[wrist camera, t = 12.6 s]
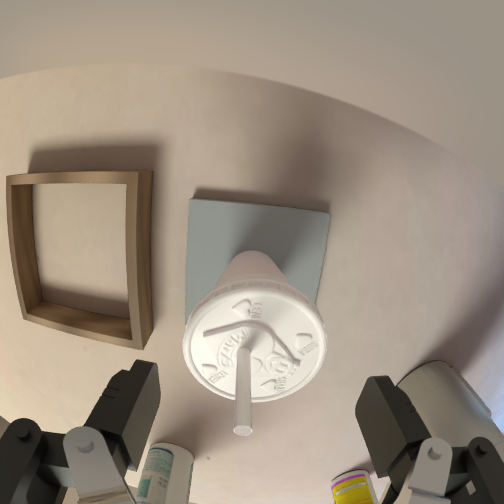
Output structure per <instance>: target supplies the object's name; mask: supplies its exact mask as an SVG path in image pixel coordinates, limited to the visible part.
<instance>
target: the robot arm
mask: <svg viewBox="0 0 504 504" xmlns="http://www.w3.org/2000/svg"><path fill="white" fill-rule="evenodd" d="M160 397H161V392H160V384H159V375H158V367H157V364H156V363H154V362H148V361H143V360H138V359H137V360H136V361H135V362H134V364H133V366H132V367H131V369H130V371H127V370H123V369H122V370H121V371H119V372H118V373H117V374H115V375H114V376H112V378H111V380H110V381H109V383H108V385H107V388H105V390H104V391H103V393H102V396H100V398H99V400H98V402H97V403H96V405H95V407H94V408H93V410H92V412H91V414H90V415H89V417H88V419H87V421H86V423H85V424H84V425H83V426H81V427H76V428H73V429H71V430H70V431H69V432H67V434H60V433H52V432H45V431H41V429H40V427H39V426H38V424H37V423H36V422H34V421H33V420H31V419H27V418H20V419H17V420H15V421H13V422H12V423H11V424H10V425H9V426H8V428H7V429H6V431H5V433H4V434H3V436H2V437H1V439H0V504H62V503H63V500H64V497H65V494H66V492H67V489H68V487H72V488H76V490H77V493H78V496H79V501H78V502H77V503H78V504H137V502H136V500H135V498H134V497H133V495H132V493H131V491H130V489H129V487H128V485H127V483H126V481H125V479H124V477H125V474H126V471H127V469H129V470H132V471H136V472H137V469H138V466H139V463H140V460H141V457H142V454H143V451H144V448H145V445H146V442H147V439H148V436H149V433H150V430H151V427H152V425H153V422H154V419H155V416H156V413H157V410H158V407H159V404H160ZM355 414H356V418H357V421H358V424H359V426H360V429H361V432H362V434H363V437H364V440H365V443H366V445H367V448H368V451H369V454H370V457H371V459H372V462H373V465H374V468H375V471H376V474H377V477H378V478H382V477H386V476H389V477H390V481H389V482H388V484H387V486H386V488H385V490H384V492H383V494H382V497H381V499H380V501H379V503H378V504H504V435H503V434H502V433H501V431H500V430H499V428H498V427H497V426H496V424H495V423H494V422H493V420H492V419H491V418H490V417H491V411H490V410H489V408H488V407H487V406H486V404H485V403H484V402H483V401H482V399H481V398H480V397H479V396H478V394H477V393H476V392H475V391H474V390H473V388H472V387H471V386H470V385H469V384H468V382H467V381H466V380H465V379H464V378H463V376H462V375H461V374H460V373H459V372H458V371H457V370H456V368H455V367H452V368H451V367H449V366H448V364H447V363H445V362H443V361H433V362H430V363H427V364H425V365H423V366H421V367H419V368H417V369H416V370H414V371H413V372H411V373H410V374H409V375H408V376H406V377H405V378H404V379H403V380H402V381H401V382H400V383H399V384H398V386H397V387H395V386H394V384H393V382H392V381H391V379H390V377H389V376H387V375H385V376H372V377H369V378H368V379H367V381H366V383H365V386H364V388H363V390H362V392H361V395H360V397H359V399H358V401H357V404H356V408H355Z"/></svg>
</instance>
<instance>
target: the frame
mask: <svg viewBox="0 0 504 504" xmlns="http://www.w3.org/2000/svg"><path fill="white" fill-rule="evenodd" d="M152 179H153V171H113V170H103V171H59V172H39V173H26V174H17V175H10V176H6V204H7V224H8V236H9V245H10V253H11V261H12V267H13V273H14V279H15V284H16V289H17V294H18V299H19V303H20V307H21V311H22V315H23V319H25V320H28V321H31V322H34V323H37V324H40V325H43V326H46V327H49V328H53V329H56V330H59V331H63V332H66V333H70V334H73V335H77V336H81V337H85V338H89V339H93V340H97V341H101V342H105V343H110V344H114V345H119V346H124V347H128V348H133V349H139V350H143V349H144V347H145V345H146V343H147V342H148V340H149V338H150V336H151V334H152V332H153V324H152V307H151V282H150V220H151V196H152ZM48 183H112V184H127V190H126V268H127V286H128V300H129V311H130V320H128V319H123V318H118V317H112V316H107V315H102V314H97V313H93V312H88V311H83V310H79V309H74V308H70V307H66V306H62V305H58V304H54V303H50V302H46V301H43V299H42V293H41V288H40V282H39V276H38V269H37V262H36V253H35V244H34V232H33V215H32V184H48Z"/></svg>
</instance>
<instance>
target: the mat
mask: <svg viewBox="0 0 504 504" xmlns="http://www.w3.org/2000/svg"><path fill="white" fill-rule="evenodd" d="M330 217H331V214H330V213H328V212H322V211H315V210H307V209H299V208H291V207H283V206H274V205H265V204H256V203H246V202H236V201H225V200H214V199H202V198H191V199H190V203H189V218H188V237H187V260H186V311H185V324H186V325H187V322H188V318H189V315H190V314H191V312H192V311H193V309H194V308H195V306H196V305H197V303H198V302H199V301H200V300H201V299H202V298H203V297H205V296H206V295H207V294H208V293H209V292H211V291H212V290H213V289H214V287H215V286H216V284H217V282H218V281H219V279H220V278H221V276H222V274H223V273H224V271H225V270H226V268H227V266H228V265H229V263H230V262H231V260H232V259H233V258H234V257H235V256H236V255H238V254H239V253H242V252H244V251H250V250H254V251H260V252H262V253H264V254H266V255H268V256H269V257H270V258H271V259H272V260H273V262H274V263H275V264H276V266H277V267H278V268H279V270H280V271H281V272H282V274H283V275H284V276H285V277H286V279H287V280H288V281H289V283H290V284H291V285H292V286H293V287H294V288H296V289H297V290H299V291H301V292H302V293H304V294H305V295H307V297H308V298H309V299H310V300H311V301H312V302H313V303H315V299H316V294H317V289H318V284H319V279H320V274H321V269H322V264H323V258H324V253H325V247H326V241H327V236H328V230H329V223H330Z"/></svg>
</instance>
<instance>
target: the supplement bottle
mask: <svg viewBox="0 0 504 504" xmlns="http://www.w3.org/2000/svg"><path fill="white" fill-rule="evenodd" d="M331 489H332V493H333V498H334V502H335V504H378V500H377V497H376V494H375V491H374V488H373V485H372V482H371V479H370V476H369V473H368V472H367V471H364V470H356V471H351V472H348V473H345V474H343V475H341V476H339V477H337V478H336V479H334V480H333V481H332V483H331Z"/></svg>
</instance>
